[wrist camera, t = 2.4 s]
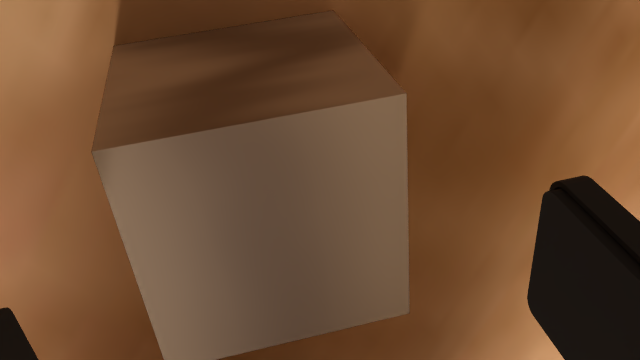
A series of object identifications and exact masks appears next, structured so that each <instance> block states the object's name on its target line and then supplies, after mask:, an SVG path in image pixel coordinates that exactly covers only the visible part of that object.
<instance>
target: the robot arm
mask: <svg viewBox="0 0 640 360" xmlns="http://www.w3.org/2000/svg"><path fill="white" fill-rule="evenodd" d="M527 299H528V305H529V308H530V310H531V313H532V314H533V316H534V317H535V319H536V320H537V322H538V323H539V324H540V326H541V327H542V329H543V330H544V331H545V333H546V334H547V336H548V337H549V338H550V340H551V341H552V343H553V344H554V345H555V347H556V348H557V349H558V351H559V352H560V354H561V355H562V356H563V358H564V359H565V360H640V221H639V220H637V219H636V218H635V217H634V216H633V215H632V214H631V213H630V212H628V211H627V210H626V209H625V208H624V207H623V206H622V205H621V204H619V203H618V202H617V201H616V200H615V199H614V198H613V197H612V196H610V195H609V194H608V193H607V192H606V191H605V190H604V189H603V188H601V187H600V186H599V185H598V184H597V183H596V182H595V181H594V180H593V179H591V178H590V177H588V176H579V177H575V178H570V179H565V180H560V181H556V182H554V183H553V184H552V185H551V187H550V190H549V191H547V192H545V193H544V195H543V198H542V204H541V210H540V217H539V223H538V230H537V236H536V243H535V249H534V256H533V262H532V269H531V276H530V282H529V289H528V296H527ZM0 360H38V358H37V356H36V354H35V353H34V351H33V349H32V347H31V345H30V343H29V342H28V340H27V338H26V336H25V334H24V332H23V330H22V329H21V327H20V325H19V323H18V321H17V319H16V318H15V316H14V314H13V312H12V311H11V309H9V308H2V309H0Z"/></svg>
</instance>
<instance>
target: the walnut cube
mask: <svg viewBox="0 0 640 360" xmlns="http://www.w3.org/2000/svg"><path fill="white" fill-rule="evenodd" d="M91 152H92V155H93V158H94V161H95V163H96V166H97V169H98V172H99V175H100V178H101V181H102V184H103V186H104V189H105V192H106V195H107V198H108V201H109V204H110V206H111V209H112V212H113V215H114V218H115V221H116V224H117V227H118V229H119V232H120V235H121V238H122V241H123V244H124V247H125V250H126V252H127V255H128V258H129V261H130V264H131V267H132V270H133V272H134V275H135V278H136V281H137V284H138V287H139V290H140V293H141V295H142V298H143V301H144V304H145V307H146V310H147V313H148V316H149V318H150V321H151V324H152V327H153V330H154V333H155V336H156V338H157V341H158V344H159V347H160V350H161V353H162V356H163V359H164V360H217V359H221V358H225V357H229V356H233V355H237V354H242V353H246V352H250V351H254V350H258V349H263V348H267V347H271V346H275V345H279V344H283V343H288V342H292V341H296V340H300V339H304V338H309V337H313V336H317V335H321V334H325V333H329V332H334V331H338V330H342V329H346V328H350V327H355V326H359V325H363V324H367V323H371V322H375V321H380V320H384V319H388V318H392V317H396V316H401V315H405V314H409V313H410V309H409V235H408V162H407V93H406V92H405V91H404V90H403V89H402V88H401V87H400V85H399V84H398V83H397V82H396V81H395V80H394V79H393V77H392V76H391V75H390V74H389V73H388V72H387V71H386V70H385V68H384V67H383V66H382V65H381V64H380V63H379V62H378V60H377V59H376V58H375V57H374V56H373V55H372V54H371V53H370V51H369V50H368V49H367V48H366V47H365V46H364V45H363V43H362V42H361V41H360V40H359V39H358V38H357V37H356V35H355V34H354V33H353V32H352V31H351V30H350V29H349V28H348V26H347V25H346V24H345V23H344V22H343V21H342V20H341V18H340V17H339V16H338V15H337V14H336V13H335V12H334V10H333V11H327V12H321V13H314V14H308V15H302V16H296V17H290V18H283V19H277V20H271V21H265V22H259V23H253V24H246V25H240V26H234V27H228V28H222V29H215V30H209V31H203V32H197V33H191V34H185V35H178V36H172V37H166V38H160V39H154V40H147V41H141V42H135V43H129V44H123V45H117V46H113V51H112V56H111V61H110V66H109V70H108V75H107V80H106V85H105V89H104V94H103V99H102V104H101V108H100V113H99V118H98V123H97V127H96V132H95V137H94V142H93V147H92V151H91Z"/></svg>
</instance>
